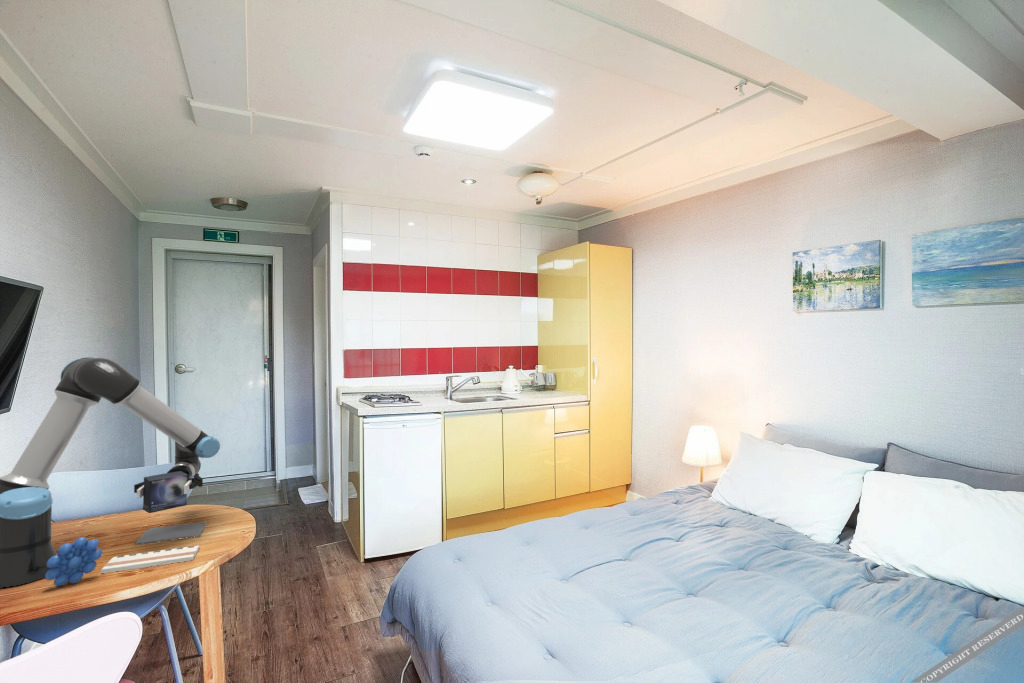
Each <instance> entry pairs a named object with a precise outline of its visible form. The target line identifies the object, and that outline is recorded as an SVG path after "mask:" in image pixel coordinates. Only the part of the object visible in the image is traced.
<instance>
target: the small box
mask: <svg viewBox="0 0 1024 683" xmlns="http://www.w3.org/2000/svg"><path fill="white" fill-rule="evenodd" d="M143 482H144V495H143V496H142V497H143V500H142V501H143V503H142V505H143V506H142V510H143V511H144V512H146V513H148V514H152V513H157V512H161V511H167V510H171V509H176V508H179V507H185V506H187V505H188V504H187V501H188V498H187V497H188V493H187V494H184V485H185V484H186V483H187V474H186V473H184V472H182V471H177V472H171V473H167V472H166V473H160V474H156V475H148V476H144V477H143Z"/></svg>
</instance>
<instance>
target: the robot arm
mask: <svg viewBox="0 0 1024 683" xmlns="http://www.w3.org/2000/svg"><path fill="white" fill-rule="evenodd" d="M53 392H54V393H55V396H56V398H55V401H54V402H53V404H52V405H51V407H50V409H49V410H48V412H47V414H46V415H45V417H44V419H43V420H42V421H41V423H40V425H39V427H38V428H37V429H36V430H35V433H34V435H33V437H31V439H30V441H29V442H28V444H27V445H26V448H25V449H24V451H23V452H22V453H21V455H20V457H19V459H18V460H17V462H16V464H15V465H14V467H13V468H12V470H11V472H10V473H8V474H5V475H2V476H0V589H4V588H3V587H7V588H11V587H10V586H13V587H17V585H18V586H21V584H22V585H25V583H26V584H29V583H32V582H35V581H39V580H41V579H45V574H46V573H47V571H48V570H50V569H51V568H48V567H47V565H46V563H47V561H48V560H49V559H50V558H51V557H53V556H55V555H58V553H57V552H56V550H55V547H54V546H53V543H52V511H53V510H52V509H53V508H52V504H53V498H52V493H51V491H50V490H49V488H50V485H49V483H48V479H49V477H50V476H51V474H52V472H53V471H54V468H55V467H56V465H57V463H58V461H59V460H60V459H61V457H62V455H63V453H64V451H65V450H66V448H67V446H68V445H69V443H70V441H71V439H72V437H73V436H74V434H75V433H76V431H77V429H78V427H79V426H80V424H81V422H82V420H83V419H84V417H85V416H86V414H87V412H88V411H89V409H90V407H93V406H96V405H99V403H100V401H101V400H102V398H103V399H104V400H107V401H108V402H110V403H111V404H113V405H121V406H122V407H124V408H125V409H127V410H128V411H130V412H131V413H132V414H134V415H136V416H138V418H140V419H141V420H142V421H144V422H146V423H148V424H149V425H150V426H152V427H153V428H155V429H156V430H158V431H159V432H161V433H162V434H164V435H166V436H167V437H168V438H170V439H171V440H173V441H174V466H173V467H171V468H170V469H169V470H168V471H167V472H166V473H171V472H177V471H182V472H184V473H186V474H187V483H186V484H185V485H184V494H187V495H188V493H189V492H190V491H191V490H192V489H195V488H197V487H199V488H203V487H204V486H203V483H204V482H203V478H202V477H201V476H200V474H199V472H200V470H201V467H202V463H201V461H200V458H201V459H204V458H205V459H209V458H210V459H211V458H212V457H214V456H216V455H217V454H218V452H219V451H220V449H221V443H220V441H219V439H217V438H216V437H214V436H211V435H208V434H207V433H205V432H204V431H203V430H201V429H200V428H199V426H196V425H194V424H193V423H192V422H191V421H189V420H188V419H186V418H185V417H184V416H182V415H181V414H179V413H178V412H177V411H176V410H174V409H173V408H171V407H170V406H168V405H167V404H166V403H164V402H163V401H161V399H159V398H158V397H157V396H155V395H154V394H152V393H151V392H150V391H148V390H147V389H145V388H144V387H142V386H141V381H140V380H139V379H137V378H136V377H135V376H134V375H133V374H131V373H130V372H129V371H127V370H126V369H125V368H124V367H123V366H120V364H118V363H117V362H115V361H113V360H111V359H109V358H103V357H89V356H88V357H80V358H78V359H74V360H72V361H70V362H68V363H67V364H66V365H65V366H64V367H63V369H62V371H61V373H60V381H59V383H58V384H57V386H56V387H55V389H54V391H53ZM133 487H134V488H133V493H134V494H136V499H137V500H138V499H141V498H142V497H143V495H144V481H142V482H139V483H135V484H134V485H133Z"/></svg>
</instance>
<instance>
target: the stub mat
mask: <svg viewBox="0 0 1024 683" xmlns="http://www.w3.org/2000/svg"><path fill="white" fill-rule="evenodd" d="M207 523H209V521H204V522H203V521H202V522H194V523H186V524H177V525H176V524H175V525H169V526H167V525H166V526H160V527H153V528H147V530H145V531H144V533H143V534H142V535H141V536H140V537H139V538H138V539H137V540H136V542H135V543H134V545H135V544H138V545H143V544H142V543H145V544H151V543H150V542H153V543H159V542H158V541H161V542H166V541H165V540H169V541H172V540H171V539H177V540H180V539H179V538H184V539H187V538H186V537H192V538H195V537H194V536H200V537H201V535H202V534H203V532H204V530H205V529H204V528H206V527H207V525H208V524H207ZM206 524H207V525H206ZM205 526H206V527H205ZM202 531H203V532H202ZM201 533H202V534H201Z"/></svg>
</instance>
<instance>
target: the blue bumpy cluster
mask: <svg viewBox="0 0 1024 683" xmlns="http://www.w3.org/2000/svg"><path fill="white" fill-rule="evenodd" d="M99 545H100V540H98V539H96V538H95V539H90V540H89V541H88V538H87V537H86V536H82V537H78V538H77V539H75V540H74V541H73V544H72V543H71V542H68V543H63V544H62V545H61V546H60V547H58V550H57V555H55V556H53V557H51V558H50V559H49V560H48V561H47V563H46V565H47V567H48V568H51V569H50V570H48V571H47V573H46V574H45V577H44V579H45V580H47V581H52V580H54V581H53V585H54V586H56V587H60V586H64V585H65V584H66V583H67V582H69V583H70V584H76V583H79V582H80V581H81V580H82V578H83V577H84V574H89V573H92V572H93V571H94V570H95V569H96V567H97V562H96V561H97V560H99V559H100V558H101V557H102V555H103V553H104V552H103V549H101V548H98V546H99Z"/></svg>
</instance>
